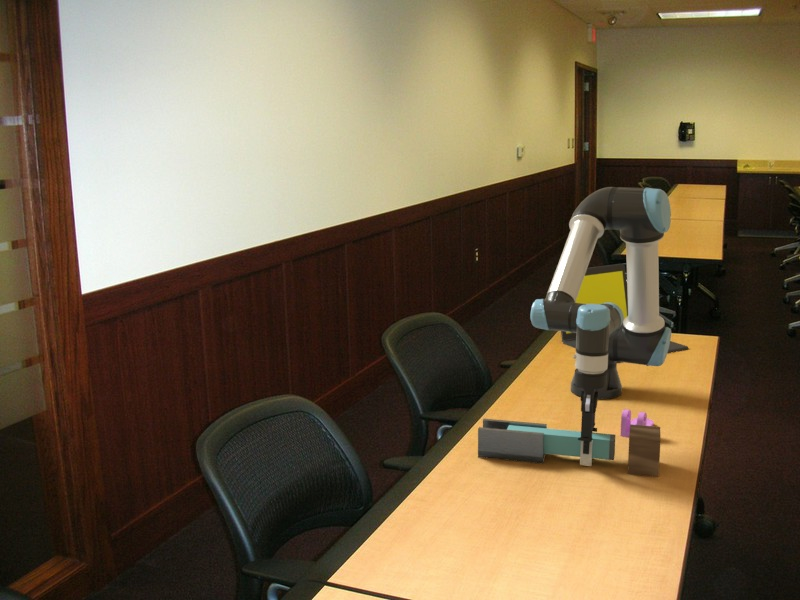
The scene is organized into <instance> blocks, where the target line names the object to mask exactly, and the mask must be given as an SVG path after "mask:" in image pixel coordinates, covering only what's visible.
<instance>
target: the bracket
mask: <svg viewBox="0 0 800 600" xmlns="http://www.w3.org/2000/svg"><path fill="white" fill-rule="evenodd" d="M647 417H648V415H647V412H644V411H639V412H638V414H637V417H634V418H633V419H631V418H632V412H631V410H630V409H626V408H624V409H623V410H622V412H621V417H620V418H621V421H620V437H623V438H628V439H629V434H630V424H631V425H643V426H654V420H653V419H650V418H647Z"/></svg>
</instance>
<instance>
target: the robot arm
mask: <svg viewBox="0 0 800 600" xmlns="http://www.w3.org/2000/svg"><path fill="white" fill-rule="evenodd" d="M671 210H672V208H671V202H670V199H669V196H668V194H667V193H666V192H665V191H664V190H662V189H661V188H651V187H620V186H619V187H616V186H607V187H606V186H605V187H603V188H600V189H597V190H595V191H594V192H592V193H590V194H589V195H588V196H587V197H585V198H584V199H583V200H582V201H581V202H580V203H579V205H578V206H577V207H576V208H575V210H574V211H573V213H572V216H571V217H570V220H569V222H568V226H569V230H570V231H569V233H568V236H567V238H566V241H565V243H564V247H563V250H562V253H561V255H560V258H559V261H558V264H557V265H556V269H555V271H554V273H555V274H554V273H553V277H552V278H551V279H552V280H551V283H550V285H549V287H548V290H547V292H546V296H545V298H537V299H535V300H534V301H533V302H532V305H531V309H530V321H531V325H532V326H533V327H534V328H535V329H536V328H537V329H541V330H545V331H554V332H555V331H557V332H561V331H565V332H573V333H576V348H575V354H573V355H572V358H573V359H574V360H575V361H574V363H575V364H574V367H575V370H574V374H573V376H572V379H571V382H570V392H572V393H573V395H576V396H578V397H580V403H581V404H580V412H581V425H580V426H581V427H580V429H581V430H580V431H581V437H578V440H581V449H580V457H579V466H587V467H592V462H593V458H592V444H593V440H592V439H593V438H592V433H598V427H595V426H596V411H597V406H598V400H609V399H613V398H617V397H618V398H619V396H621V394H622V393H623V392H622V389H623V387H622V386H623V385H622V383H621V378H620V376H619V371H618V368H617V366H618V365H617V364H618V363H617V362H621V363H627V364H633V365H643V366H645V367H649V366H650V367H661V366H662V365H663V364H664V363H665V361H666V359H667V355H668V354H669V353H668V349H669V345H670V341H671V337H672V329H671V328H670V327H669V326H666V325H665V324H666V323H665V321H666V320H664V318H663V317H662V316H661V315H660V289H659V288H660V282H659V281H660V279H659V278H660V271H659V268H660V267H659V262H660V261H659V243H660V242H661V240H662V239H663V238H664V236H665V234H666V233H667V232H668V231H669V230H670V227H671V216H672V214H671V213H672V211H671ZM606 230H612V231H619V238H620V240H621V241H623V242H624V243H625V254H626V280H627V292H628V316H627V317H626V318H625V319H624V316H623V312H622V310H621V309H620V307H619V306H617V305H616V304H614V303H603V304H582V303H575V302H576V299H577V296H578V293H579V290H580V287H581V284H582V282H583V279H584V276H585V273H586V270H587V268H589V265H590V261H591V259H592V257H593V254H594V253H593V252H594V250H595V247H596V244H597V241H598V239H600V238H602V236H603V235H604V233H605V231H606ZM623 320H624V321H623ZM667 353H668V354H667Z"/></svg>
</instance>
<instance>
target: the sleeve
mask: <svg viewBox="0 0 800 600" xmlns="http://www.w3.org/2000/svg"><path fill="white" fill-rule="evenodd" d="M509 425H514V426H525V427H536V428H547V429H548V424H547V423H539V422H538V423H537V422H530V421H529V422H528V421H514V420H505V419H504V420H503V419H493V418H483V420H482V427H481V426H479V427H478V429H477V458H480V459H494V460H503V461H512V462H522V463H530V464H539V465H540V464H542V465H543V463H544V460H545V458H546V455H547V454H544V453H543V450H544V433H537V432H526V431H515V430H507V428H508V426H509Z"/></svg>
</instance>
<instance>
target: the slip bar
mask: <svg viewBox="0 0 800 600" xmlns="http://www.w3.org/2000/svg"><path fill="white" fill-rule="evenodd" d="M507 430H515V431H526V432H537V433H544V450H543V453H544V454H546V455H556V456H565V457H575V458H576V457H577V458H580V449H581V440H578V437H581V430H580V431H579V430H578V431H577V430H568V429H557V428H556V429H555V428H548V427H547V428H536V427H525V426H514V425H509V426H508V428H507ZM592 438H593V439H592V440H593V444H592V459H594V460H595V459H598V460H606V461H615V457H616V456H615V455H616V453H615V452H616V434H612V433H604V432H603V433H601V432H594V433H592Z"/></svg>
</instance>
